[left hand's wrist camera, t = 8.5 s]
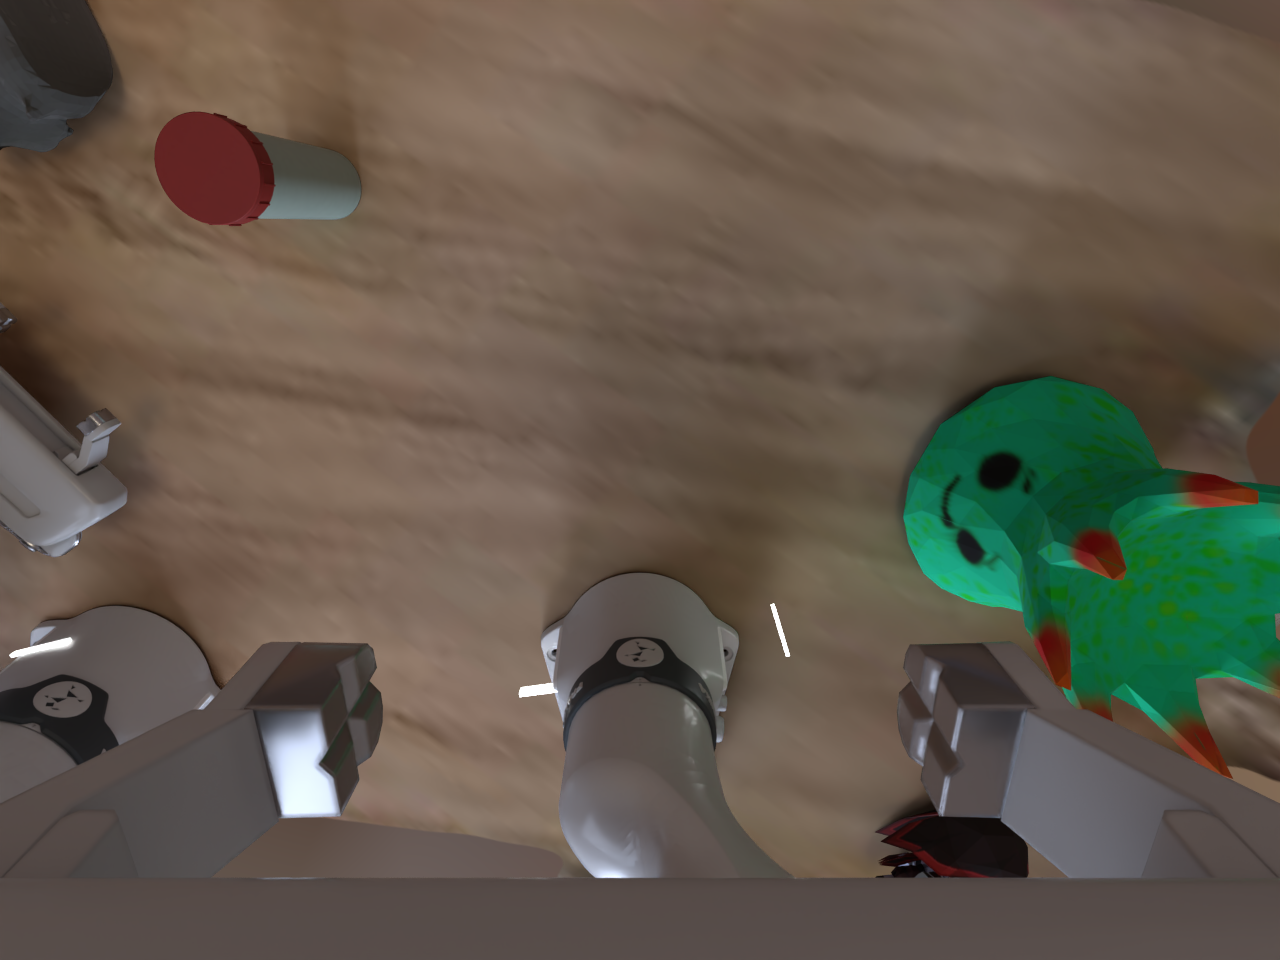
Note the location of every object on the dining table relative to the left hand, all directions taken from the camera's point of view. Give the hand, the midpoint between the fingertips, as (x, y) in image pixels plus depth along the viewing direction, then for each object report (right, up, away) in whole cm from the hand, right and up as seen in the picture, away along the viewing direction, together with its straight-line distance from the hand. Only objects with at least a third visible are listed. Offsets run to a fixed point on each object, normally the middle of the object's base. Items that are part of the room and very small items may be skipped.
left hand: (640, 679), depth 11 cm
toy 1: (+31, -34, +64) cm, 78 cm away
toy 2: (+33, +2, +50) cm, 60 cm away
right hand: (-42, +11, +40) cm, 59 cm away
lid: (-24, +20, +27) cm, 41 cm away
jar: (-24, +25, +42) cm, 54 cm away
